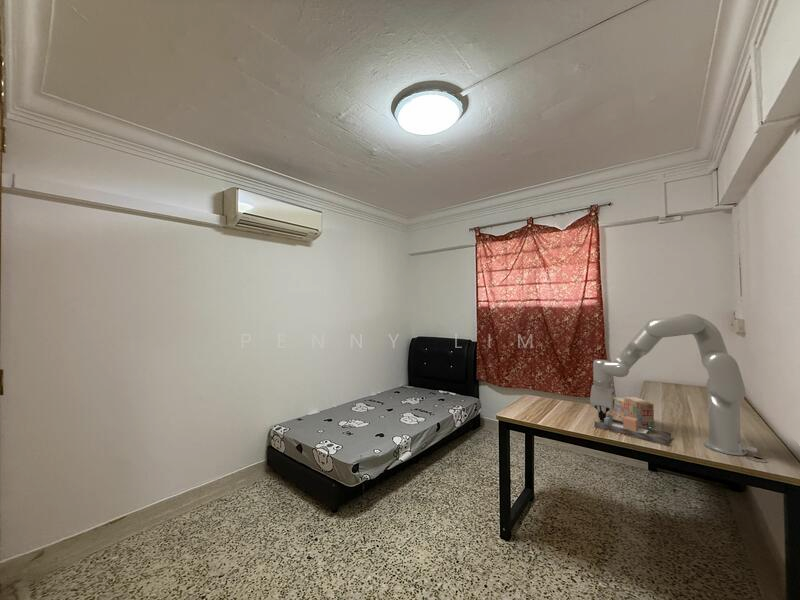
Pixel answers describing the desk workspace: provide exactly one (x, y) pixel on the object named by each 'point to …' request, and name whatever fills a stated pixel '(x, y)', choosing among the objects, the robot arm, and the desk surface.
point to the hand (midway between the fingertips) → (602, 419)
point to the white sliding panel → (609, 421)
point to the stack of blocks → (636, 410)
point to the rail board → (651, 436)
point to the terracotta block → (630, 423)
